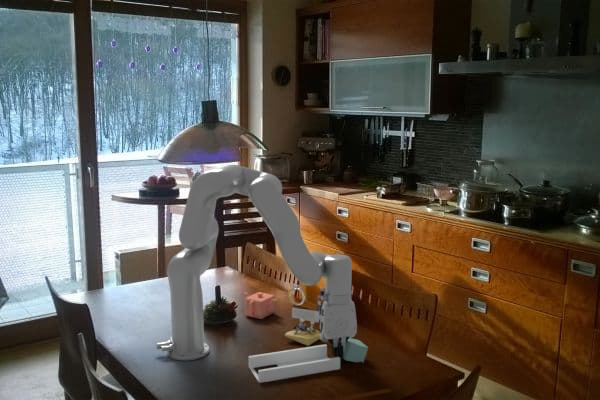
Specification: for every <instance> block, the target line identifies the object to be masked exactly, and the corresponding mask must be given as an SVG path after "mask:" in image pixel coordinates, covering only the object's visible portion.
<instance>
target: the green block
mask: <svg viewBox="0 0 600 400" xmlns="http://www.w3.org/2000/svg"><path fill="white" fill-rule="evenodd" d="M368 349H369V347H368V346H367V345H366V344H365V343H363V342H362V341H361V340H360V339H355V338H349V339H348V340H347V341H346V343H345V345H344V346H343V355H342V359H343V360H345V361H346V362H347V361H348V362H353V363H365V359H366V355H367V353H368Z"/></svg>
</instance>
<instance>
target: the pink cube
mask: <svg viewBox="0 0 600 400" xmlns="http://www.w3.org/2000/svg"><path fill="white" fill-rule="evenodd" d="M243 294H244V295H245V297H244V312H245V314H244V315H245V316H247V317H251V318H255V319H259V320H264V319H265V318H266V317H268V316H270V315H273V314H274V313H275V312H276V301H278V299H277V298H276V295H275V294H270V293H265V292H261V291H257V292H256V293H254V294H251V295H250V294H249V293H248V292H245V291H244V292H243Z"/></svg>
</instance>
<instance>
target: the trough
mask: <svg viewBox="0 0 600 400" xmlns="http://www.w3.org/2000/svg"><path fill="white" fill-rule="evenodd" d="M272 365H276V367H268V368H264V369H258V370H257V371H258V372H257V371H256V370H255V368H260V367H267V366H272ZM248 368H249V370H250V371H251V373H252V374H253V375H254V377H255V378H256V380H257V382H258V383H259V384H261V383H268V382H272V381H278V380H284V379H290V378H297V377H302V376H307V375H308V376H309V375H313V374H319V373H324V372H325V373H326V372H331V371H338V370H341V359H340V358H339V357H335V358H334V357H329V356H328V345H327V344H326V343H325V344H319V345H313V346H311V345H310V346H305V347H299V348H293V349H285V350H282V351H281V350H279V351H274V352H269V353H268V352H267V353H261V354H253V355H248Z"/></svg>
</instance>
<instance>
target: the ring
mask: <svg viewBox="0 0 600 400" xmlns="http://www.w3.org/2000/svg"><path fill="white" fill-rule="evenodd" d="M294 290H295V291H296V290H297V291H299V292H300V293H301V295H302V300H301V302H300V303H299V302H295V301H294V299H293V298H292V291H294ZM287 295H288V300H289V301H290V303H292V305H294V306H295V307H298V306H301V305H303V304H305V302H306V298H307V294H306V291H305V290H304V288H302V286H301V285H299V284H295V285H292V286H291V288H290V289H289V290H288V293H287Z"/></svg>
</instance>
